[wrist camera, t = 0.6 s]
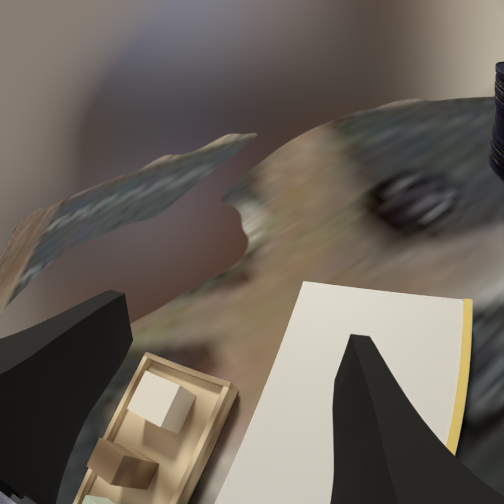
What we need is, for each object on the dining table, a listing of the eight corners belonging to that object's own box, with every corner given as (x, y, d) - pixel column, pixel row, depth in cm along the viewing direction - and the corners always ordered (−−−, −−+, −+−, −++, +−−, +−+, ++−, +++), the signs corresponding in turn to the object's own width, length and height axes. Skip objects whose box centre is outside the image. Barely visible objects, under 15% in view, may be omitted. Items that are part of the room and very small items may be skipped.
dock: (391, 594, 10) (394, 605, 8) (206, 543, 17) (191, 548, 15) (465, 314, 24) (472, 299, 22) (307, 295, 31) (303, 280, 30)
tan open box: (154, 577, 15) (105, 587, 10) (83, 523, 20) (33, 517, 15) (241, 391, 27) (210, 364, 22) (160, 362, 32) (121, 332, 27)
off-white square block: (178, 434, 24) (160, 427, 22) (145, 417, 26) (126, 408, 24) (196, 395, 26) (180, 385, 24) (163, 381, 28) (145, 370, 26)
